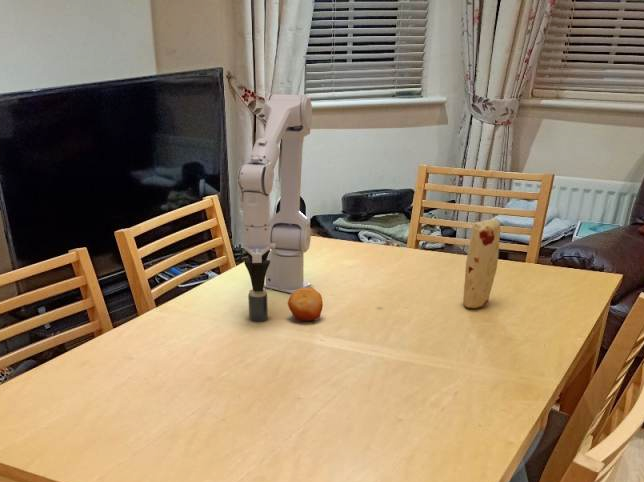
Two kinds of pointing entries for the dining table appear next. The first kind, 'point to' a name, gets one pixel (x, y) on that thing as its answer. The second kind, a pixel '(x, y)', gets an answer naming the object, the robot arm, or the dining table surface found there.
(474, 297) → the food model
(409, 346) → the dining table surface
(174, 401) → the dining table surface
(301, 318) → the fruit
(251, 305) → the salt shaker
